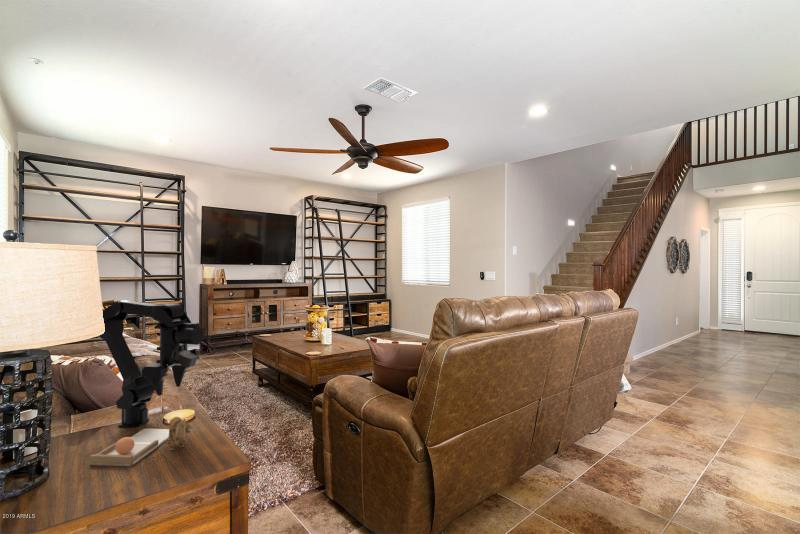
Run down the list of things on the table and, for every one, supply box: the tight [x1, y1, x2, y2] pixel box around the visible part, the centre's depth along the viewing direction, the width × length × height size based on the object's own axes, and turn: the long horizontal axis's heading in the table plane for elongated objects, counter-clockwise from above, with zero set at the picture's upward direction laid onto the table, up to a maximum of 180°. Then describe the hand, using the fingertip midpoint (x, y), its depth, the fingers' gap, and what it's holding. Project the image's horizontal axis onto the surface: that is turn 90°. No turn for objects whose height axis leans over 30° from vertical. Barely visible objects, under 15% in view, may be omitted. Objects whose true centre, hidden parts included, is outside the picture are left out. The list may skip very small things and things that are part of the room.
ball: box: [115, 436, 134, 454], centre depth 111 cm, size 4×4×4 cm
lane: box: [89, 428, 169, 467], centre depth 116 cm, size 11×22×2 cm, turn 179°
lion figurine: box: [166, 416, 194, 452], centre depth 118 cm, size 15×5×9 cm, turn 44°
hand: (169, 390), depth 130 cm, fingers open, 9 cm apart
